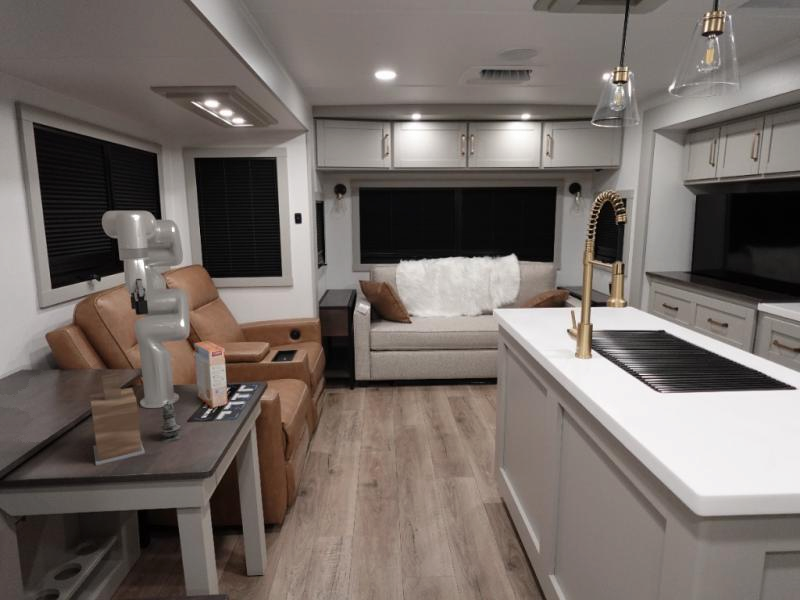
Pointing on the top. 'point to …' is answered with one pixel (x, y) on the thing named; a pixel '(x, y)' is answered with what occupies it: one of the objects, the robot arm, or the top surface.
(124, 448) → the walnut cover
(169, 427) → the grey ridged tall piece
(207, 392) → the cracker box
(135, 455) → the slate mat
